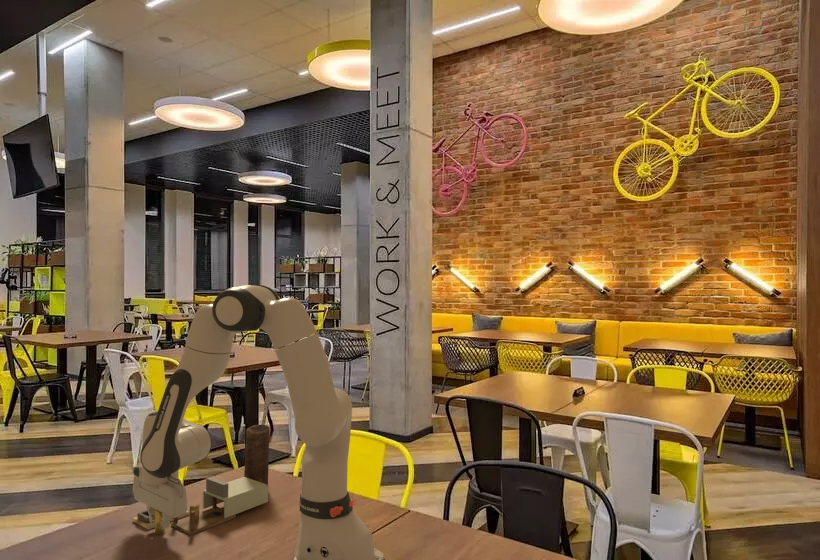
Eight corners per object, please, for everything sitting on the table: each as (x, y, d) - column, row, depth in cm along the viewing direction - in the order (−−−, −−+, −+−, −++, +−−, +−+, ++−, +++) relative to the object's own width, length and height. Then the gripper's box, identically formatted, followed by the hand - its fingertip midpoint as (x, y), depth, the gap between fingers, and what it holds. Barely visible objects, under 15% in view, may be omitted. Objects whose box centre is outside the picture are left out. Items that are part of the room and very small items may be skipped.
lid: (268, 501, 166) (268, 472, 166) (225, 518, 155) (225, 486, 155) (245, 493, 173) (245, 464, 173) (202, 508, 161) (202, 477, 161)
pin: (166, 532, 149) (167, 509, 149) (158, 535, 147) (158, 512, 147) (161, 529, 150) (162, 507, 150) (153, 532, 148) (153, 509, 148)
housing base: (235, 517, 158) (236, 497, 158) (190, 535, 147) (190, 513, 147) (216, 509, 164) (216, 489, 164) (171, 525, 153) (171, 504, 153)
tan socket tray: (189, 514, 160) (189, 505, 160) (148, 529, 150) (148, 520, 150) (173, 507, 165) (173, 499, 165) (132, 521, 155) (132, 512, 155)
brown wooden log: (273, 488, 181) (273, 425, 180) (260, 496, 174) (261, 431, 174) (252, 485, 183) (253, 423, 183) (238, 493, 176) (239, 429, 176)
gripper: (194, 477, 145) (193, 531, 145) (151, 460, 157) (150, 510, 157) (171, 484, 140) (169, 540, 140) (128, 466, 152) (127, 518, 152)
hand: (159, 524), depth 149 cm, fingers open, 4 cm apart
